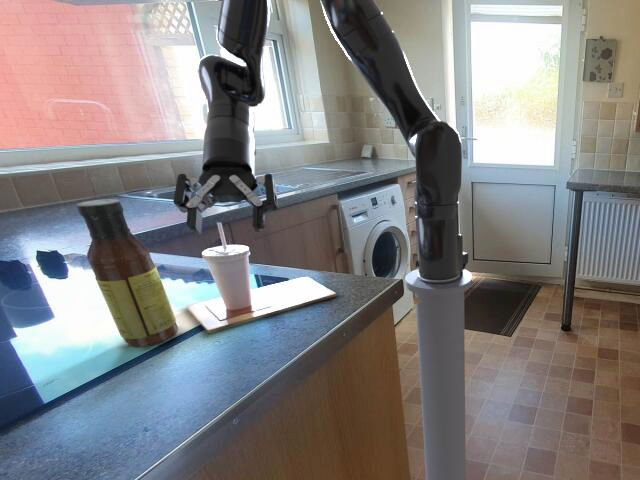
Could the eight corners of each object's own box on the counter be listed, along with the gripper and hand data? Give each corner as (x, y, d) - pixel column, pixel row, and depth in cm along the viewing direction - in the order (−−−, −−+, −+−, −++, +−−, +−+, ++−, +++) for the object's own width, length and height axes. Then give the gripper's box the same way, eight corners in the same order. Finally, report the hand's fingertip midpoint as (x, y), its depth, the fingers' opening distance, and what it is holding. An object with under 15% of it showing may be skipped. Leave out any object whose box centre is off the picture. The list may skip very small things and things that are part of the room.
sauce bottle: (179, 324, 63) (139, 195, 56) (179, 341, 59) (135, 203, 51) (123, 335, 60) (72, 199, 52) (118, 354, 55) (61, 208, 47)
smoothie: (259, 294, 73) (242, 217, 67) (262, 308, 68) (244, 225, 63) (215, 302, 69) (194, 221, 64) (216, 316, 64) (193, 230, 59)
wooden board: (307, 278, 82) (306, 275, 82) (337, 296, 75) (336, 292, 75) (186, 309, 68) (185, 305, 68) (208, 333, 61) (207, 329, 61)
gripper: (171, 134, 66) (162, 220, 61) (270, 136, 71) (270, 216, 65) (191, 164, 73) (185, 244, 67) (280, 165, 77) (281, 239, 72)
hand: (227, 230), depth 66 cm, fingers open, 8 cm apart
